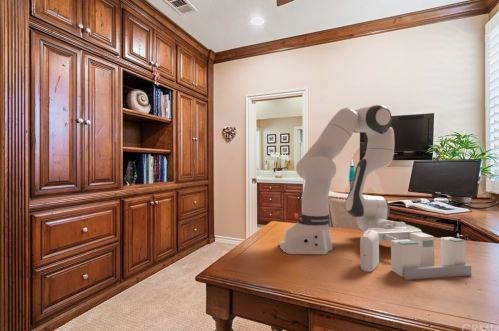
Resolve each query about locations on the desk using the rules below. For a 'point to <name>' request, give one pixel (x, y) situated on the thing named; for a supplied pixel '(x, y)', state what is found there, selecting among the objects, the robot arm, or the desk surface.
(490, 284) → the desk surface
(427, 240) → the block
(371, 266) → the photo printer
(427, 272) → the din mount
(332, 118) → the robot arm
